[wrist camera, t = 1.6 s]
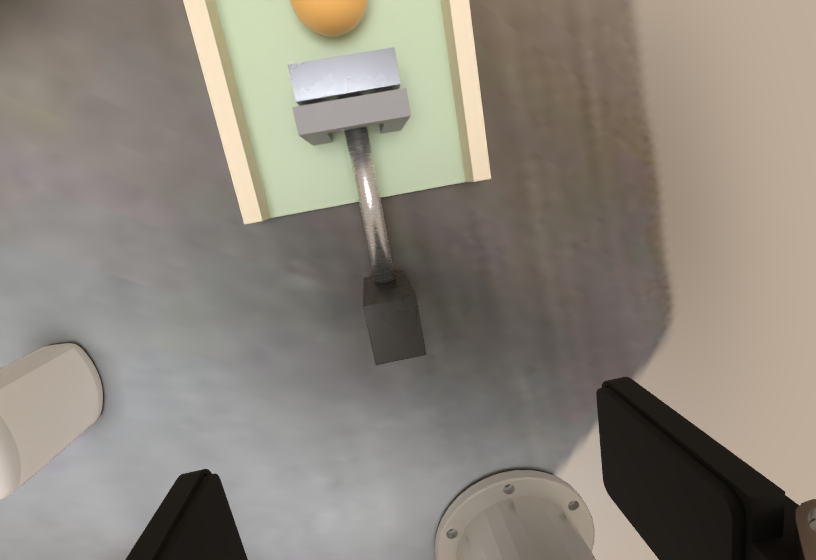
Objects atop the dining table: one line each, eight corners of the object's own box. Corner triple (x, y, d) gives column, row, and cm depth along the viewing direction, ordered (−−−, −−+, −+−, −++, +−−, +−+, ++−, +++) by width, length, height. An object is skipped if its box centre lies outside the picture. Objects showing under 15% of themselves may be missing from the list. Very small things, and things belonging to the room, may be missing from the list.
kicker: (430, 309, 27) (451, 349, 20) (353, 325, 26) (350, 370, 20) (389, 70, 23) (398, 27, 17) (300, 84, 23) (276, 47, 17)
